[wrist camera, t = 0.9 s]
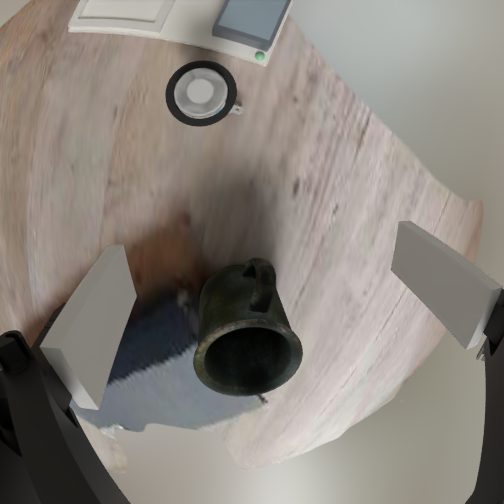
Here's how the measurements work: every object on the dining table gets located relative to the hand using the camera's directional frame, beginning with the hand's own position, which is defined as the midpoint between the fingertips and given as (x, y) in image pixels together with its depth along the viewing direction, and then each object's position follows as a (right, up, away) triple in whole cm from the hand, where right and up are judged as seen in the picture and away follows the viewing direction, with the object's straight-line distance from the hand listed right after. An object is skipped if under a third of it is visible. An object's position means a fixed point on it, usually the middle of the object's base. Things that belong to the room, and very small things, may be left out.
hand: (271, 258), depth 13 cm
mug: (-2, -4, +24) cm, 24 cm away
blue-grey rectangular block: (0, +27, +9) cm, 28 cm away
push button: (-5, +16, +14) cm, 22 cm away
